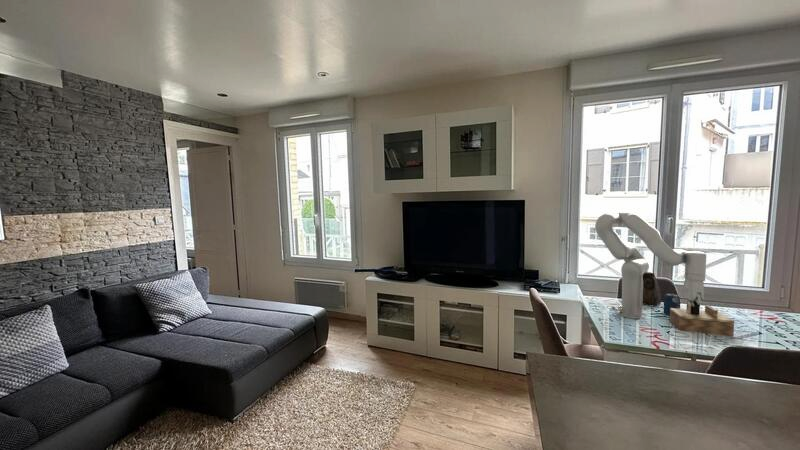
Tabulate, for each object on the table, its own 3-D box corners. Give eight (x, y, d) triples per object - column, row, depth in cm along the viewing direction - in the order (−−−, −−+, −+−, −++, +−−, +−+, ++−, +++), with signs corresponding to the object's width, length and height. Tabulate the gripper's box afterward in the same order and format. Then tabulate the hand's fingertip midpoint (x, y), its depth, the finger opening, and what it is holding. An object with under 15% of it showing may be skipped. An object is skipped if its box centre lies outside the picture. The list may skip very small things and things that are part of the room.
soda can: (681, 318, 173) (682, 297, 172) (665, 316, 176) (666, 295, 175) (677, 314, 179) (678, 293, 178) (661, 312, 182) (662, 292, 181)
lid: (680, 317, 156) (680, 308, 156) (670, 309, 167) (670, 301, 167) (734, 323, 148) (734, 313, 148) (720, 314, 160) (720, 305, 159)
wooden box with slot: (679, 332, 157) (680, 318, 156) (669, 323, 168) (670, 310, 167) (733, 338, 149) (734, 323, 149) (719, 328, 160) (720, 314, 160)
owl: (656, 307, 191) (658, 274, 190) (631, 302, 201) (632, 271, 199) (662, 302, 199) (663, 271, 198) (637, 297, 209) (639, 267, 207)
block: (689, 328, 158) (690, 300, 157) (685, 325, 162) (687, 298, 161) (698, 329, 157) (699, 301, 156) (694, 326, 160) (696, 299, 159)
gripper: (677, 272, 166) (676, 306, 168) (692, 280, 151) (690, 317, 153) (696, 273, 163) (694, 308, 165) (713, 281, 148) (711, 319, 150)
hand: (692, 312), depth 159 cm, fingers open, 3 cm apart
